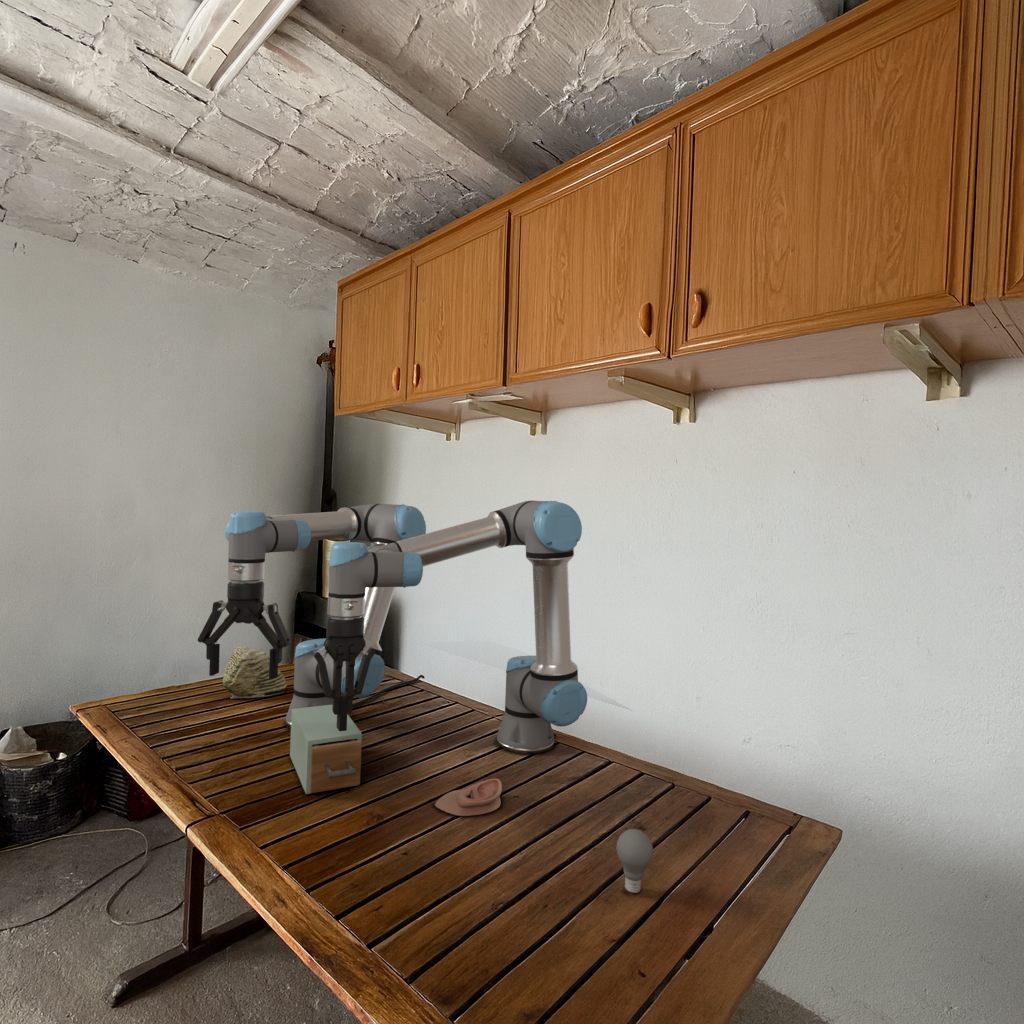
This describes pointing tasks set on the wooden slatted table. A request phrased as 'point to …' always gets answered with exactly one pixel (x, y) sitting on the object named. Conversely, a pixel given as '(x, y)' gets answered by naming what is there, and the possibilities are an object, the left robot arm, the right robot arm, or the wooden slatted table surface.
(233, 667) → the fossil
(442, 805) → the anatomical model
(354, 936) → the wooden slatted table surface
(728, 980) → the wooden slatted table surface
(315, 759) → the drawer
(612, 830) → the wooden slatted table surface
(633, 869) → the light bulb
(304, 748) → the cabinet
